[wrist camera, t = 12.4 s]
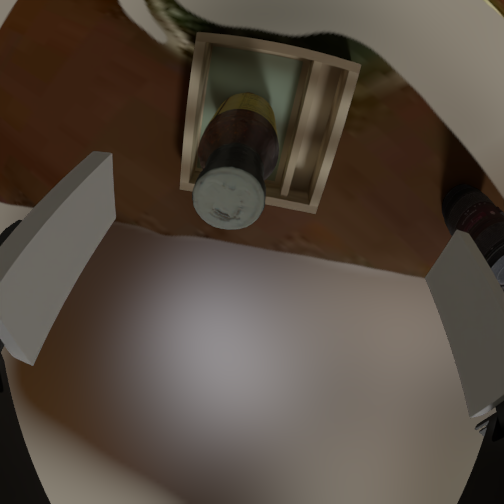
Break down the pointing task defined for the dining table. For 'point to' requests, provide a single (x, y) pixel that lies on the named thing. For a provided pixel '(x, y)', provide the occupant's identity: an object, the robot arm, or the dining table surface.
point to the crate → (273, 108)
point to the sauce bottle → (236, 162)
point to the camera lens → (477, 224)
